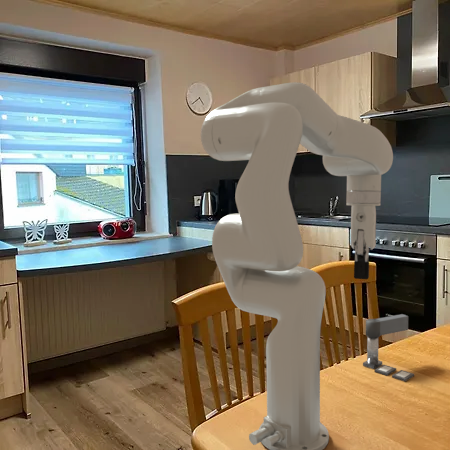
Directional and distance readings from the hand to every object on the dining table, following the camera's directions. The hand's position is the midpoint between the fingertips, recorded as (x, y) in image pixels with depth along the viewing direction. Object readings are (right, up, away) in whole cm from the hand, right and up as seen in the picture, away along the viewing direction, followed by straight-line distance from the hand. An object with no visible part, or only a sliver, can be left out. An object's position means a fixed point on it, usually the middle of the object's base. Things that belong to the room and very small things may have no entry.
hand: (361, 278), depth 109 cm
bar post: (+5, -23, +8) cm, 24 cm away
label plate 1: (+7, -23, +4) cm, 24 cm away
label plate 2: (+10, -23, +1) cm, 25 cm away
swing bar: (+9, -15, +9) cm, 19 cm away
